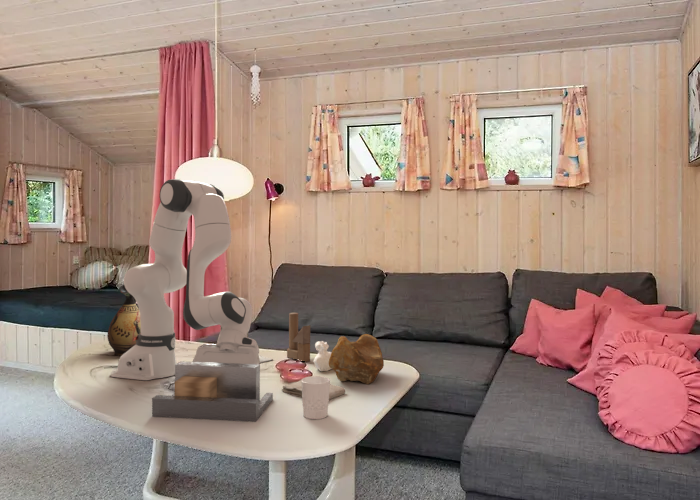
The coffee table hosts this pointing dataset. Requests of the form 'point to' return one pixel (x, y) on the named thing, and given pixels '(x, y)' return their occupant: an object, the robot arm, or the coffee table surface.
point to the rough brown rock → (357, 359)
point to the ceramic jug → (124, 325)
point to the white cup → (315, 396)
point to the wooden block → (298, 340)
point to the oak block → (196, 386)
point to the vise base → (209, 407)
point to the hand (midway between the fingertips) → (220, 384)
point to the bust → (322, 356)
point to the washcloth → (296, 389)
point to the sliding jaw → (225, 377)
